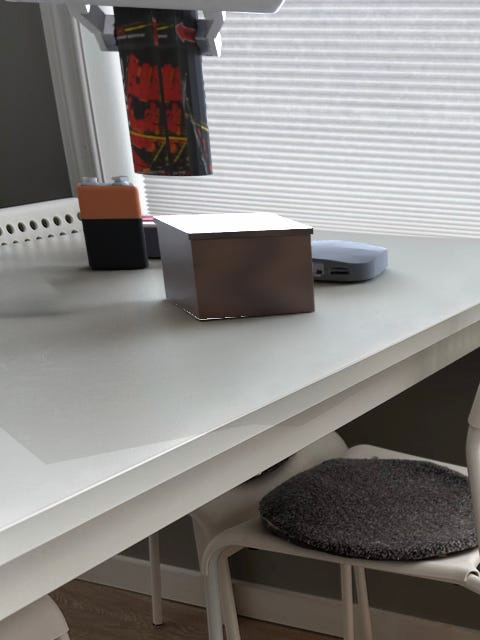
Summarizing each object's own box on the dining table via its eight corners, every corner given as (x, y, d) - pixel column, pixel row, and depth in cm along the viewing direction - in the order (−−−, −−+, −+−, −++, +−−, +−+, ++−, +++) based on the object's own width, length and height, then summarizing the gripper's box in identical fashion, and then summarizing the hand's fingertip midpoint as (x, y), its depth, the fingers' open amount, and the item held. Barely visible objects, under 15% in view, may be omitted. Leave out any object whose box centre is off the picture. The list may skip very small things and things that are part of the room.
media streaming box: (393, 265, 123) (392, 240, 122) (371, 285, 111) (370, 258, 109) (283, 259, 124) (281, 235, 123) (249, 279, 112) (246, 252, 110)
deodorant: (121, 170, 75) (89, -65, 67) (192, 169, 78) (169, -56, 70) (153, 177, 71) (123, -72, 63) (226, 175, 74) (205, -61, 67)
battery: (149, 268, 115) (136, 178, 110) (90, 270, 113) (74, 178, 108) (146, 263, 119) (134, 174, 114) (89, 264, 117) (73, 174, 112)
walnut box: (198, 321, 92) (188, 232, 88) (163, 298, 101) (152, 216, 97) (317, 311, 97) (313, 227, 93) (274, 290, 107) (268, 212, 102)
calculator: (213, 213, 134) (214, 220, 122) (216, 245, 136) (218, 256, 124) (131, 212, 132) (124, 220, 119) (136, 246, 134) (129, 257, 121)
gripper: (275, -177, 59) (303, 20, 72) (-64, -197, 58) (29, 7, 71) (269, -99, 57) (299, 88, 70) (-80, -118, 56) (18, 75, 69)
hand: (161, 47), depth 71 cm, fingers closed on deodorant, 6 cm apart
